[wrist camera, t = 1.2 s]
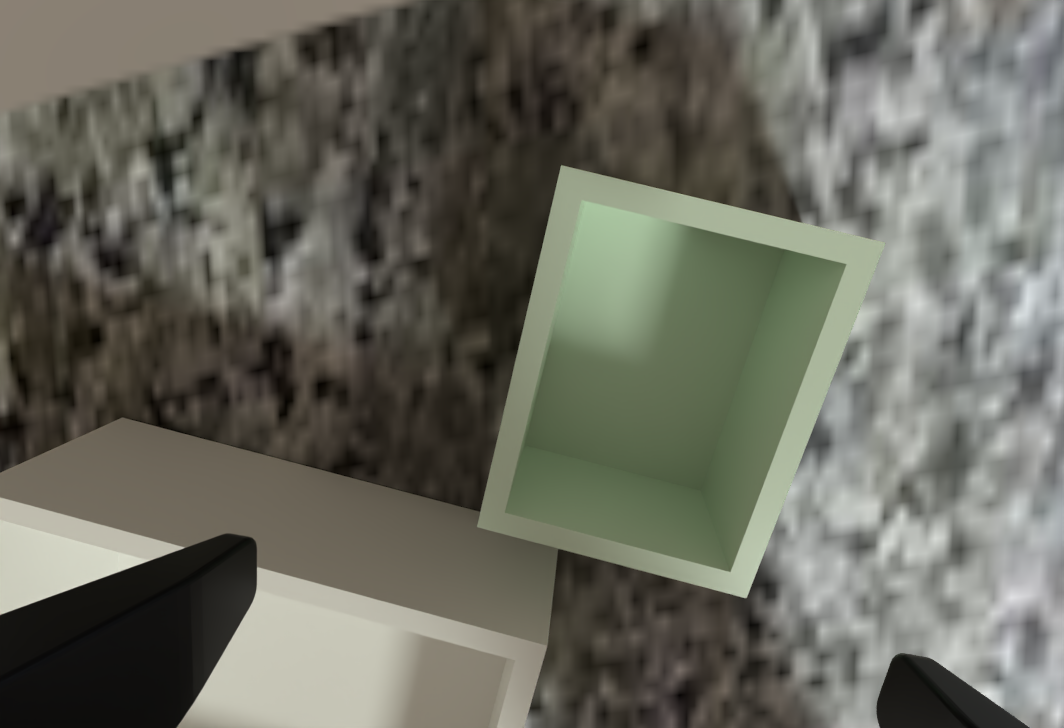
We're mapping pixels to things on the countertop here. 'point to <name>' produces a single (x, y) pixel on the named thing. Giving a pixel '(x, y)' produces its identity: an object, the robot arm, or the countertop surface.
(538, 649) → the white open box
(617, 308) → the sage crate
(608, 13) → the countertop surface
